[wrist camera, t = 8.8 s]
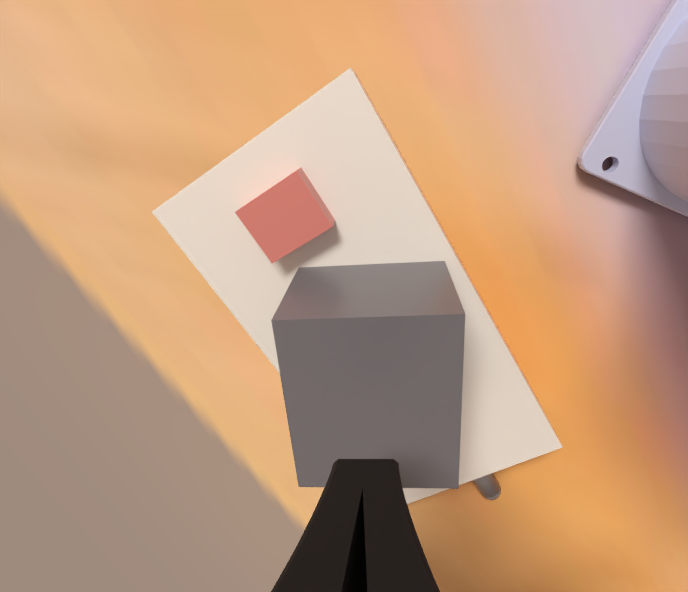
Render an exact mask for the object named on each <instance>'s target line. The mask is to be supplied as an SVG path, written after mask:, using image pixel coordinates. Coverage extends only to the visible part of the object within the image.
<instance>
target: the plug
mask: <svg viewBox="0 0 688 592" xmlns="http://www.w3.org/2000/svg"><path fill="white" fill-rule="evenodd" d="M271 321H272V328H273V334H274V340H275V346H276V352H277V358H278V364H279V370H280V376H281V382H282V388H283V394H284V400H285V406H286V412H287V418H288V424H289V430H290V437H291V443H292V449H293V455H294V461H295V467H296V473H297V479H298V485H299V487H325V486H326V483H327V480H328V478H329V475H330V472H331V470H332V466H333V463H334V462H335V461H336V460H338V459H394V460H395V461H397V462H398V463H399V473H400V478H401V483H402V488H450V489H458V487H459V462H460V436H461V411H462V386H463V360H464V335H465V312H464V309H463V307H462V304H461V302H460V299H459V296H458V294H457V291H456V289H455V286H454V284H453V281H452V278H451V276H450V273H449V271H448V268H447V265H446V263H445V261H430V262H408V263H386V264H364V265H342V266H321V267H299V268H298V270H297V272H296V273H295V275H294V277H293V279H292V281H291V283H290V285H289V287H288V289H287V291H286V293H285V295H284V297H283V299H282V301H281V302H280V304H279V306H278V308H277V310H276V312H275V314H274V316H273V318H272V320H271Z"/></svg>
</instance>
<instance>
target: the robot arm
mask: <svg viewBox="0 0 688 592" xmlns="http://www.w3.org/2000/svg"><path fill="white" fill-rule="evenodd" d="M608 157H612V159H613V164H612V166H611V167H610V168H609V169H608V170H605V171H604V170H603V169H602V164H603V161H604V160H605V159H606V158H608ZM578 165H579V167H580V169H582V170H583V171H584V172H587V173H589V174H591V175H593V176H596V177H598V178H600V179H602V180H605V181H607V182H609V183H611V184H614V185H616V186H618V187H621V188H623V189H625V190H627V191H630V192H632V193H634V194H636V195H639V196H641V197H643V198H645V199H648V200H650V201H652V202H655V203H657V204H659V205H661V206H664V207H666V208H668V209H670V210H673V211H675V212H677V213H679V214H682V215H684V216H686V217H688V0H672V1H671V3H670V4H669V6H668V8H667V9H666V11H665V13H664V14H663V16H662V17H661V19H660V21H659V22H658V24H657V26H656V27H655V29H654V31H653V32H652V34H651V36H650V37H649V39H648V41H647V42H646V44H645V45H644V47H643V49H642V50H641V52H640V54H639V55H638V57H637V59H636V60H635V62H634V64H633V65H632V67H631V69H630V70H629V72H628V73H627V75H626V77H625V78H624V80H623V82H622V83H621V85H620V87H619V88H618V90H617V92H616V93H615V95H614V97H613V98H612V100H611V102H610V103H609V105H608V106H607V108H606V110H605V111H604V113H603V115H602V116H601V118H600V120H599V121H598V123H597V125H596V126H595V128H594V130H593V131H592V133H591V134H590V136H589V138H588V139H587V141H586V143H585V144H584V146H583V148H582V149H581V151H580V153H579V156H578ZM271 592H440V591H439V588H438V586H437V584H436V582H435V579H434V577H433V575H432V572H431V570H430V567H429V565H428V562H427V560H426V557H425V555H424V552H423V549H422V547H421V544H420V541H419V539H418V536H417V533H416V531H415V528H414V525H413V522H412V519H411V516H410V513H409V509H408V506H407V503H406V499H405V496H404V492H403V488H402V483H401V478H400V473H399V463H398V462H397V461H395V460H394V459H338V460H336V461H335V462H334V463H333V466H332V470H331V472H330V475H329V478H328V480H327V483H326V486H325V488H324V490H323V493H322V495H321V497H320V500H319V502H318V504H317V506H316V508H315V511H314V513H313V515H312V517H311V519H310V521H309V523H308V525H307V527H306V529H305V531H304V533H303V535H302V537H301V539H300V541H299V543H298V545H297V547H296V549H295V551H294V552H293V554H292V556H291V558H290V560H289V562H288V563H287V565H286V567H285V569H284V570H283V572H282V574H281V575H280V577H279V579H278V581H277V582H276V584H275V586H274V588H273V589H272V591H271Z"/></svg>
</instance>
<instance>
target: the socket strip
mask: <svg viewBox="0 0 688 592" xmlns="http://www.w3.org/2000/svg"><path fill="white" fill-rule="evenodd" d="M152 213H153V214H154V215H155V217H156V218H157V219H158V220H159V222H160V223H161V224H162V225H163V227H164V228H165V229H166V230H167V232H168V233H169V234H170V235H171V237H172V238H173V239H174V241H175V242H176V243H177V244H178V246H179V247H180V248H181V249H182V251H183V252H184V253H185V254H186V256H187V257H188V258H189V259H190V261H191V262H192V263H193V264H194V266H195V267H196V268H197V270H198V271H199V272H200V273H201V275H202V276H203V277H204V278H205V280H206V281H207V282H208V283H209V285H210V286H211V287H212V288H213V290H214V291H215V292H216V293H217V295H218V296H219V297H220V299H221V300H222V301H223V302H224V304H225V305H226V306H227V307H228V309H229V310H230V311H231V312H232V314H233V315H234V316H235V317H236V319H237V320H238V321H239V323H240V324H241V325H242V326H243V328H244V329H245V330H246V331H247V333H248V334H249V335H250V336H251V338H252V339H253V340H254V341H255V343H256V344H257V345H258V346H259V348H260V349H261V350H262V352H263V353H264V354H265V355H266V357H267V358H268V359H269V360H270V362H271V363H272V364H273V365H274V367H275V368H276V369H277V370H278V372H279V373H280V370H279V364H278V358H277V352H276V346H275V340H274V334H273V328H272V321H271V320H272V318H273V316H274V314H275V312H276V310H277V308H278V306H279V304H280V302H281V301H282V299H283V297H284V295H285V293H286V291H287V289H288V287H289V285H290V283H291V281H292V279H293V277H294V275H295V273H296V272H297V270H298V268H299V267H321V266H342V265H364V264H386V263H408V262H430V261H445V263H446V265H447V268H448V271H449V273H450V276H451V278H452V281H453V284H454V286H455V289H456V291H457V294H458V296H459V299H460V302H461V304H462V307H463V309H464V312H465V335H464V360H463V386H462V411H461V436H460V462H459V485H461V484H464V483H467V482H469V481H473V482H474V484H475V485H476V487H477V488H478V490H479V491H480V493H481V494H482V495H483V496H484V497H485V498H486V499H489V500H494V499H496V498H498V497H499V495H500V493H501V487H500V485H499V483H498V481H497V480H496V478H495V477H494V475H493V474H492V473H494V472H497V471H499V470H502V469H505V468H508V467H510V466H513V465H516V464H519V463H521V462H524V461H527V460H529V459H532V458H535V457H538V456H540V455H543V454H546V453H549V452H551V451H554V450H557V449H560V448H562V445H561V443H560V441H559V439H558V437H557V435H556V434H555V432H554V430H553V428H552V426H551V424H550V422H549V420H548V418H547V416H546V414H545V412H544V411H543V409H542V407H541V405H540V403H539V401H538V400H537V398H536V396H535V394H534V392H533V391H532V389H531V387H530V385H529V383H528V382H527V380H526V378H525V376H524V374H523V373H522V371H521V369H520V367H519V365H518V364H517V362H516V360H515V358H514V356H513V355H512V353H511V351H510V349H509V347H508V346H507V344H506V342H505V340H504V338H503V337H502V335H501V333H500V331H499V329H498V328H497V326H496V324H495V322H494V320H493V319H492V317H491V315H490V313H489V311H488V310H487V308H486V306H485V304H484V302H483V301H482V299H481V297H480V295H479V294H478V292H477V290H476V288H475V286H474V285H473V283H472V281H471V279H470V277H469V276H468V274H467V272H466V270H465V268H464V267H463V265H462V263H461V261H460V259H459V258H458V256H457V254H456V252H455V250H454V249H453V247H452V245H451V243H450V241H449V240H448V238H447V236H446V234H445V232H444V231H443V229H442V227H441V225H440V223H439V222H438V220H437V218H436V216H435V214H434V213H433V211H432V209H431V207H430V205H429V204H428V202H427V200H426V198H425V197H424V195H423V193H422V191H421V189H420V188H419V186H418V184H417V182H416V180H415V179H414V177H413V175H412V173H411V171H410V170H409V168H408V166H407V164H406V162H405V161H404V159H403V157H402V155H401V153H400V152H399V150H398V148H397V146H396V144H395V143H394V141H393V139H392V137H391V135H390V134H389V132H388V130H387V128H386V126H385V125H384V123H383V121H382V119H381V117H380V116H379V114H378V112H377V110H376V108H375V107H374V105H373V103H372V101H371V99H370V98H369V96H368V94H367V92H366V91H365V89H364V87H363V85H362V83H361V82H360V80H359V78H358V76H357V74H356V73H355V72H354V71H353V70H352V68H350V69H348V70H347V71H345V72H344V73H343V74H341V75H340V76H339V77H337V78H336V79H334V80H333V81H332V82H330V83H329V84H328V85H326V86H325V87H323V88H322V89H321V90H319V91H318V92H317V93H315V94H314V95H312V96H311V97H310V98H308V99H307V100H305V101H304V102H303V103H301V104H300V105H299V106H297V107H296V108H294V109H293V110H292V111H290V112H289V113H288V114H286V115H285V116H283V117H282V118H281V119H279V120H278V121H277V122H275V123H274V124H272V125H271V126H270V127H268V128H267V129H265V130H264V131H263V132H261V133H260V134H259V135H257V136H256V137H254V138H253V139H252V140H250V141H249V142H248V143H246V144H245V145H243V146H242V147H241V148H239V149H238V150H236V151H235V152H234V153H232V154H231V155H230V156H228V157H227V158H225V159H224V160H223V161H221V162H220V163H219V164H217V165H216V166H214V167H213V168H212V169H210V170H209V171H208V172H206V173H205V174H203V175H202V176H201V177H199V178H198V179H196V180H195V181H194V182H192V183H191V184H190V185H188V186H187V187H185V188H184V189H183V190H181V191H180V192H179V193H177V194H176V195H174V196H173V197H172V198H170V199H169V200H168V201H166V202H165V203H163V204H162V205H161V206H159V207H158V208H156V209H155V210H154V211H152ZM447 489H450V488H403V492H404V496H405V499H406V503H407V504H409V503H412V502H415V501H417V500H420V499H423V498H426V497H428V496H431V495H434V494H436V493H439V492H442V491H445V490H447Z"/></svg>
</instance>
